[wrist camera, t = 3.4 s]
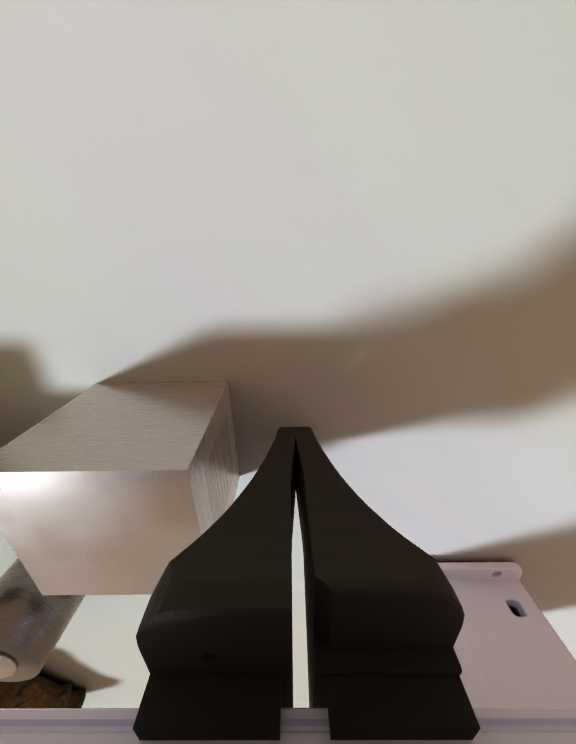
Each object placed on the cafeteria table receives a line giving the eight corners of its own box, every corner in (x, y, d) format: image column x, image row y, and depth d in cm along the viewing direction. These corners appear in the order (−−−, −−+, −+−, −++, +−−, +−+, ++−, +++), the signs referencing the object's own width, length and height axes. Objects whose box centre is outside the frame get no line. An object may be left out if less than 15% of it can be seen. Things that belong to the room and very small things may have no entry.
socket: (81, 546, 16) (14, 641, 12) (103, 591, 18) (50, 687, 14) (5, 547, 16) (-86, 642, 12) (35, 592, 18) (-36, 687, 14)
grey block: (228, 380, 12) (186, 469, 7) (239, 474, 14) (213, 593, 9) (97, 382, 12) (-35, 472, 7) (128, 476, 14) (42, 595, 9)
